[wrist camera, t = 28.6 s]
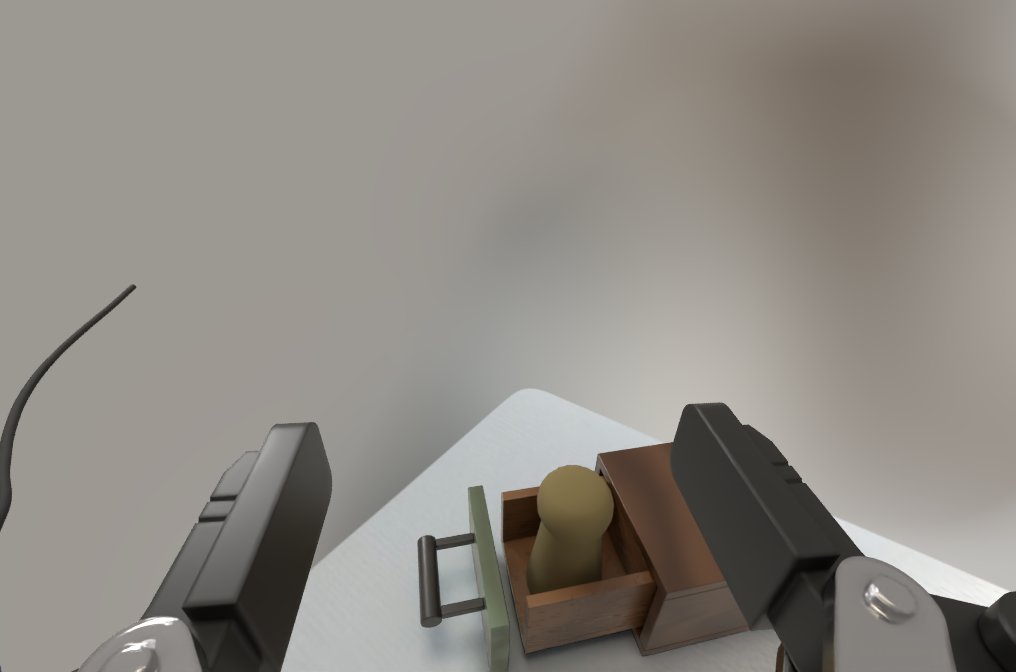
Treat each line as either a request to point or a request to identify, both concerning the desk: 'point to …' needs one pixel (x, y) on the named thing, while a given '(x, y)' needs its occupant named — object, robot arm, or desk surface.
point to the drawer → (539, 615)
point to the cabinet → (670, 553)
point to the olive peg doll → (569, 529)
